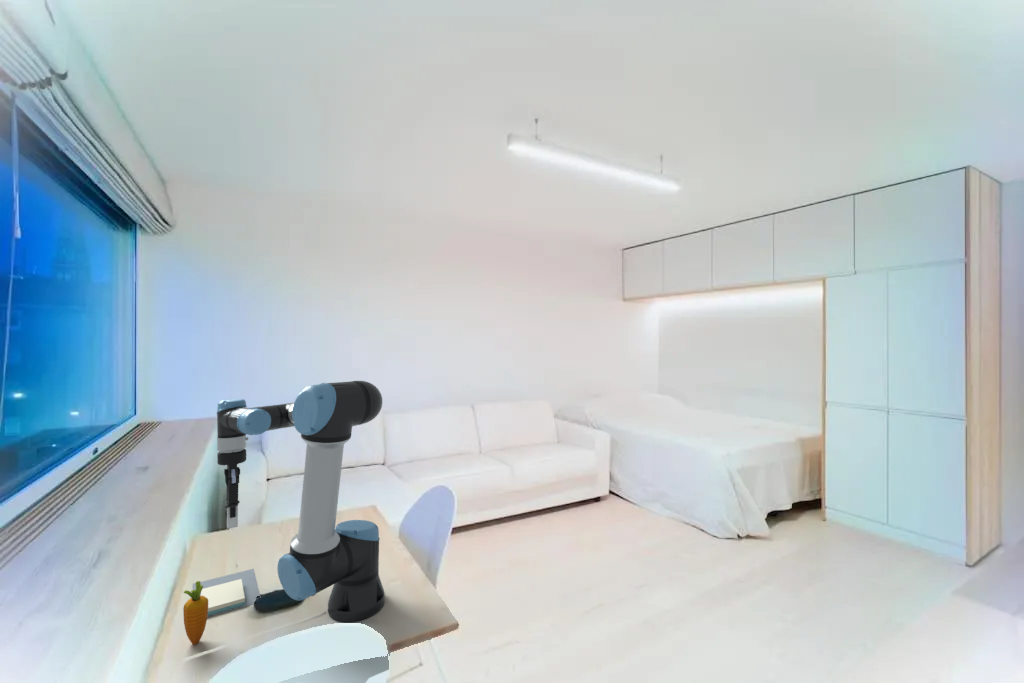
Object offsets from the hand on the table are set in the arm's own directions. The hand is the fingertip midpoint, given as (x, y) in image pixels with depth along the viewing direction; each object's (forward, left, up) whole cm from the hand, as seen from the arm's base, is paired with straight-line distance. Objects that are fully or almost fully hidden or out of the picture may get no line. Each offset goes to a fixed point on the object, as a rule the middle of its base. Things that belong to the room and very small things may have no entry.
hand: (232, 526), depth 136 cm
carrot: (-27, +9, -18) cm, 34 cm away
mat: (-6, +2, -17) cm, 18 cm away
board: (-4, +3, -16) cm, 17 cm away
